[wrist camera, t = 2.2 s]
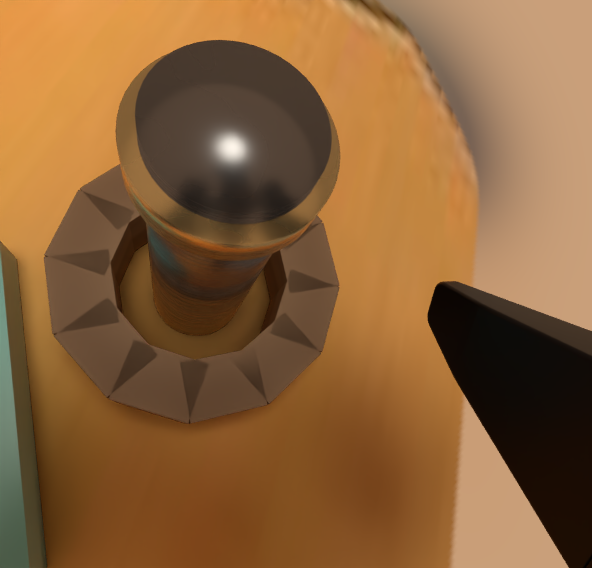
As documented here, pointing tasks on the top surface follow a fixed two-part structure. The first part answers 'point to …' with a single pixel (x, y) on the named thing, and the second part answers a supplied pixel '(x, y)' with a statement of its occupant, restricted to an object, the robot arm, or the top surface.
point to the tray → (17, 435)
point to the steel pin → (221, 172)
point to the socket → (161, 363)
